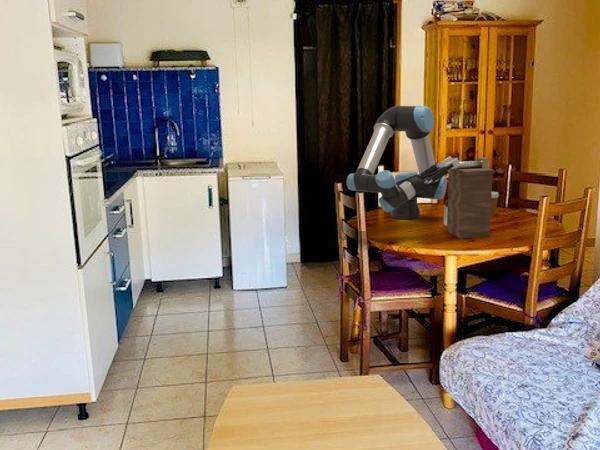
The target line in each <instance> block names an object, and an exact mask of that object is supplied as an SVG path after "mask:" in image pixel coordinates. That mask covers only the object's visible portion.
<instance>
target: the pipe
mask: <svg viewBox="0 0 600 450" xmlns="http://www.w3.org/2000/svg"><path fill="white" fill-rule="evenodd" d="M441 162H442V161H441ZM459 162H460V164H458V165H457V166H455V167H453V168H452V169H467V168H488V169H489V167H490V164H491V163H490V159H489V157H484V156H482V157H481V156H479V157H477V160H469V161H467V160H466V161H459ZM436 163H437V166H436V167H437V170H439V169H441V168H443V167H445V165H446V164H448V163H449V162H442V163H440V162H436Z"/></svg>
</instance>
